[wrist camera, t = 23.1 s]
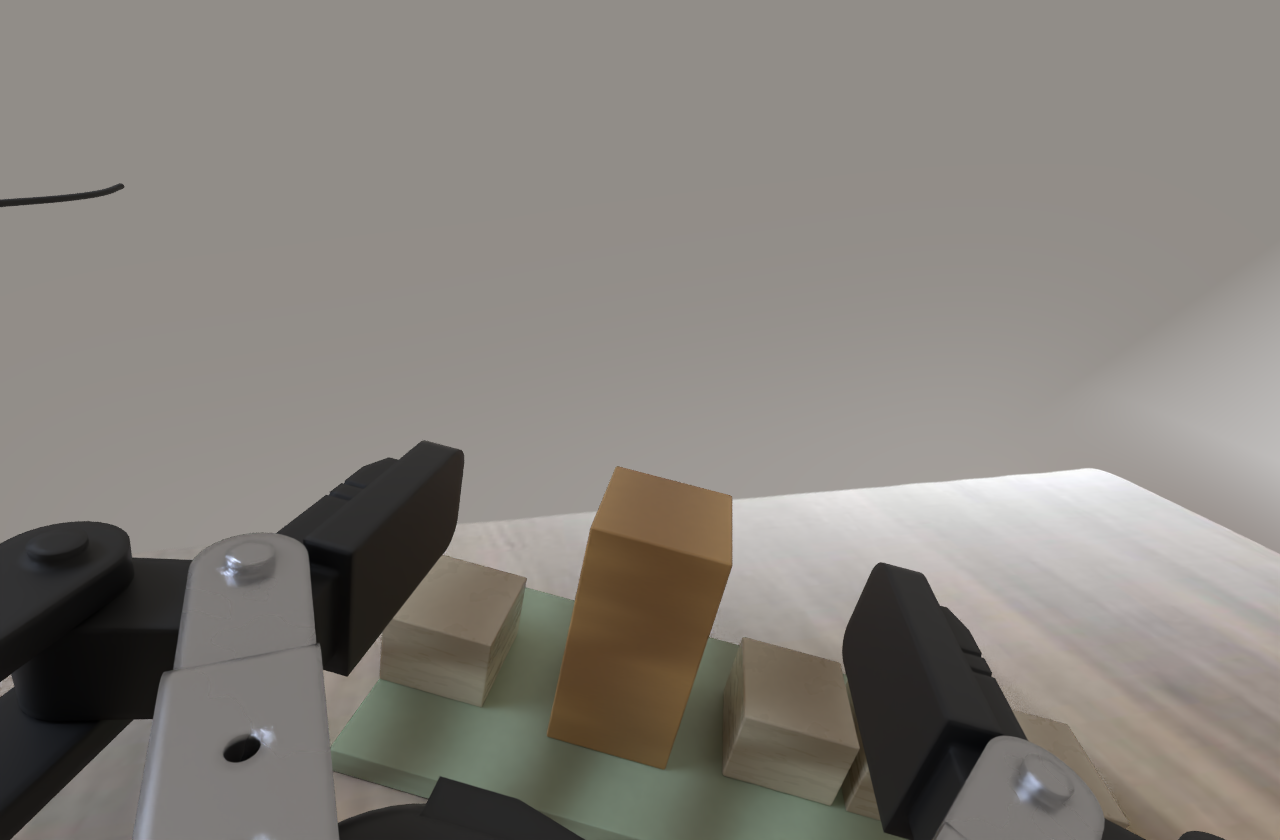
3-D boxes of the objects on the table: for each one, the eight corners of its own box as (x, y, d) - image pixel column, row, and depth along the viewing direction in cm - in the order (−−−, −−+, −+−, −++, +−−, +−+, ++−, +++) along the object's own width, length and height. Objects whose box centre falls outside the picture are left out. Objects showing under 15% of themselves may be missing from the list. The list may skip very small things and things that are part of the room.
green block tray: (328, 770, 20) (329, 680, 18) (455, 585, 29) (464, 515, 28) (1123, 1003, 19) (1196, 927, 17) (993, 732, 28) (1032, 667, 26)
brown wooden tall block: (545, 737, 22) (590, 527, 18) (575, 650, 26) (616, 464, 22) (664, 771, 21) (733, 565, 18) (675, 678, 25) (732, 495, 22)
